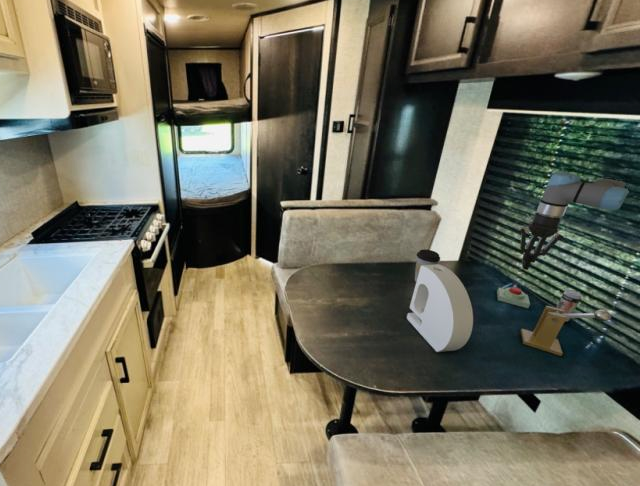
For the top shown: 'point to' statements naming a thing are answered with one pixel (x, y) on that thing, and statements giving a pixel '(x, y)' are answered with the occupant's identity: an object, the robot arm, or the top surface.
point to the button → (515, 290)
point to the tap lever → (588, 315)
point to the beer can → (569, 302)
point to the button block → (513, 297)
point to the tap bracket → (546, 332)
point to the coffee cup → (426, 260)
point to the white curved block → (441, 308)
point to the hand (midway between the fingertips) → (524, 268)
